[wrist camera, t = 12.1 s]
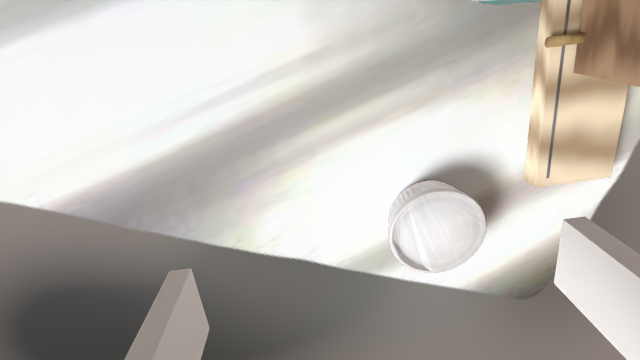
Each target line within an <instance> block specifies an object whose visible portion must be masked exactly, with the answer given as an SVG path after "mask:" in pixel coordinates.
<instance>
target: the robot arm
mask: <svg viewBox="0 0 640 360" xmlns="http://www.w3.org/2000/svg"><path fill="white" fill-rule="evenodd" d="M554 284H555V285H556V286H557V287H558V288H559V289H560V290H561V291H562V292H563V293H564V294H565V295H566V296H567V297H568V298H569V299H570V301H571V302H572V303H573V304H574V305H575V306H576V307H577V308H578V309H579V310H580V311H581V312H582V313H583V314H584V315H585V316H586V317H587V318H588V319H589V320H590V321H591V322H592V324H593V325H594V326H595V327H596V328H597V329H598V330H599V331H600V332H601V333H602V334H603V335H604V336H605V337H606V338H607V339H608V340H609V341H610V342H611V343H612V344H613V345H614V346H615V348H616V349H617V350H618V351H619V352H620V353H621V354H622V355H623V356H624V357H625V358H626V359H627V360H640V255H639V254H637V253H636V252H635V251H633V250H632V249H630V248H629V247H627V246H626V245H624V244H623V243H622V242H620V241H619V240H617V239H616V238H615V237H613V236H612V235H610V234H609V233H607V232H606V231H604V230H603V229H602V228H600V227H599V226H597V225H596V224H595V223H593V222H592V221H590V220H589V219H587V218H586V217H579V218H571V219H564V220H563V224H562V231H561V238H560V245H559V252H558V259H557V266H556V273H555V280H554ZM208 331H209V326H208V323H207V319H206V316H205V312H204V309H203V306H202V303H201V300H200V296H199V293H198V289H197V286H196V283H195V280H194V276H193V273H192V270H191V269H183V270H175V271H170V272H169V273H168V275H167V277H166V279H165V281H164V283H163V285H162V287H161V289H160V291H159V293H158V295H157V297H156V299H155V301H154V303H153V304H152V307H151V308H150V310H149V312H148V315H147V317H146V318H145V320H144V323H143V324H142V326H141V328H140V330H139V332H138V334H137V336H136V338H135V340H134V342H133V344H132V346H131V348H130V350H129V352H128V354H127V356H126V358H125V360H200V359H201V356H202V352H203V349H204V345H205V342H206V338H207V335H208Z"/></svg>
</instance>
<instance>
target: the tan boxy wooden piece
mask: <svg viewBox="0 0 640 360" xmlns="http://www.w3.org/2000/svg"><path fill="white" fill-rule="evenodd" d="M572 44H577V48H576V56H575V63H574V71H573V73H576V74H581V75H586V76H590V77H595V78H600V79H605V80H610V81H615V82H620V83H625V84H629V85H634V86H639V87H640V0H583V3H582V11H581V18H580V26H579V33H576V34H568V35H561V36H553V37H547V38H546V39H545V47H546V48H549V47H557V46H565V45H572Z"/></svg>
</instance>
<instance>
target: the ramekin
mask: <svg viewBox="0 0 640 360" xmlns="http://www.w3.org/2000/svg"><path fill="white" fill-rule="evenodd" d="M388 220H389V228H388V240H389V244H390V247H391V250H392V252H393V254H394V255H395V257H396V258H397V259H398V260H399V261H400V262H401V263H402V264H403V265H405V266H406V267H408V268H410V269H412V270H415V271H418V272H424V273H438V272H443V271H447V270H450V269H453V268H455V267H457V266H459V265H461V264H463V263H464V262H465V261H467V260H468V259H469V258H470V257H471V256H472V255H473V254H474V253H475V252H476V251H477V250H478V248H479V247H480V245H481V243H482V241H483V239H484V236H485V233H486V219H485V214H484V212H483V210H482V208H481V207H480V205H479V204H478V203H477V202H476V201H475V200H474V199H473V198H472V197H471V196H470V195H468V194H467V193H465V192H463V191H460V190H458V189H456V188H454V187H453V186H451V185H449V184H447V183H444V182H441V181H431V180H430V181H423V182H418V183H416V184H413V185H412V186H409V187H408V188H406V189H405V190H404V191H402V192H401V193H400V194H399V195H398V196H397V198H396V199H395V200H394V202H393V204H392V206H391V208H390V212H389V218H388Z"/></svg>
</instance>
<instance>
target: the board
mask: <svg viewBox="0 0 640 360" xmlns="http://www.w3.org/2000/svg"><path fill="white" fill-rule="evenodd" d="M582 3H583V0H543V1H541V9H540V19H539V30H538V40H537V51H536V61H535V72H534V82H533V93H532V103H531V114H530V124H529V135H528V146H527V156H526V167H525V177H524V179H525V180H526V181H528V182H529V183H530V184H532V185H533V186H535V187H541V186H549V185H556V184H564V183H572V182H579V181H587V180H594V179H602V178H610V177H611V175H612V170H613V165H614V160H615V154H616V149H617V144H618V139H619V134H620V128H621V123H622V118H623V113H624V107H625V102H626V97H627V92H628V86H629V84H625V83H620V82H615V81H610V80H605V79H600V78H595V77H590V76H586V75H581V74H576V73H573V71H574V63H575V56H576V48H577V44H572V45H565V46H557V47H549V48H546V47H545V39H546V38H547V37H553V36H561V35H568V34H576V33H579V26H580V18H581V11H582Z"/></svg>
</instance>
